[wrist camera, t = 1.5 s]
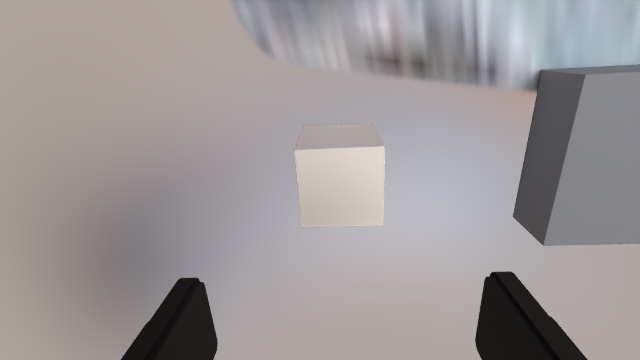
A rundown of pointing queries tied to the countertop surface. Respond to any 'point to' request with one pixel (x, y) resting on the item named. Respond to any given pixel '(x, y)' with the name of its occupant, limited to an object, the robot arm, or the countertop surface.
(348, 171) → the cube
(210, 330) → the robot arm
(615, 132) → the plinth
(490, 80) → the countertop surface
